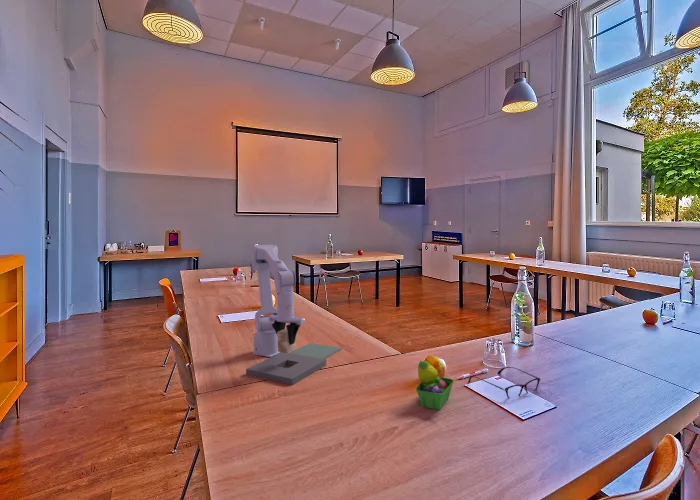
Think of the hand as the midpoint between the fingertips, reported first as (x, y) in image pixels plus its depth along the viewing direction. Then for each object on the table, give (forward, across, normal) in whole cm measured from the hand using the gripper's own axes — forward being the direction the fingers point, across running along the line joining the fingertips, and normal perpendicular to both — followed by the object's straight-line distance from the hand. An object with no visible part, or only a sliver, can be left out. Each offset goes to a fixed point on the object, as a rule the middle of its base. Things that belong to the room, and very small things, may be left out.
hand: (286, 342), depth 131 cm
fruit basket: (+10, +53, -1) cm, 54 cm away
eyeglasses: (+10, +69, +19) cm, 72 cm away
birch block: (+3, 0, 0) cm, 3 cm away
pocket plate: (+10, 0, 0) cm, 10 cm away
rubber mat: (+10, -2, +20) cm, 22 cm away
